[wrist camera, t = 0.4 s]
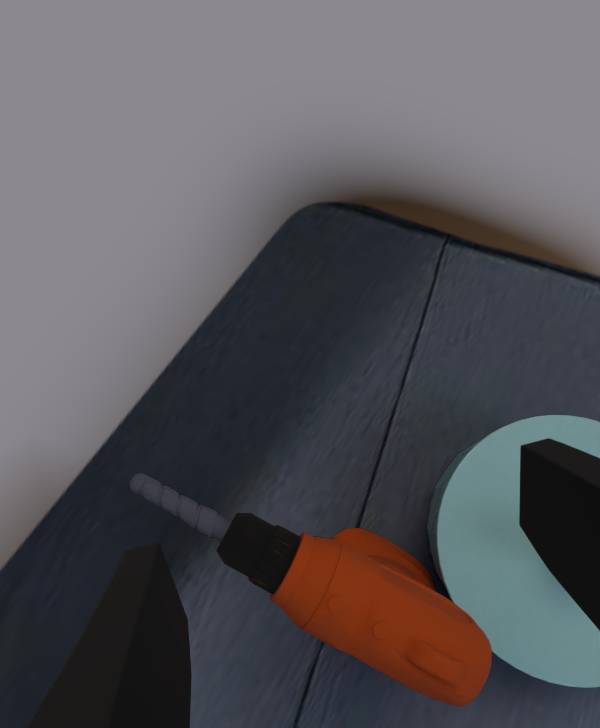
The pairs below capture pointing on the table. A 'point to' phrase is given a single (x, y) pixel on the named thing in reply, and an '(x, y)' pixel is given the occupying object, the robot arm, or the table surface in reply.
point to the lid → (514, 557)
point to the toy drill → (350, 596)
